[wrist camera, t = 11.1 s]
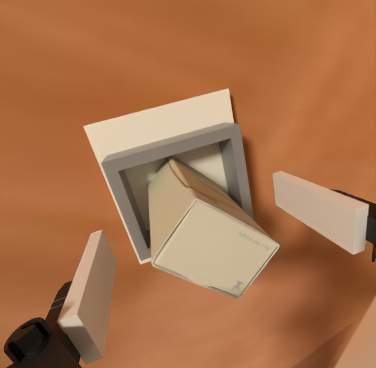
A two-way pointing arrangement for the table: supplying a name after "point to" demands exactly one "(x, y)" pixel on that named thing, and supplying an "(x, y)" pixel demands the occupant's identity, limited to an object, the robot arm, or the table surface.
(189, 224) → the skincare box
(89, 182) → the table surface
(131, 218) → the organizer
